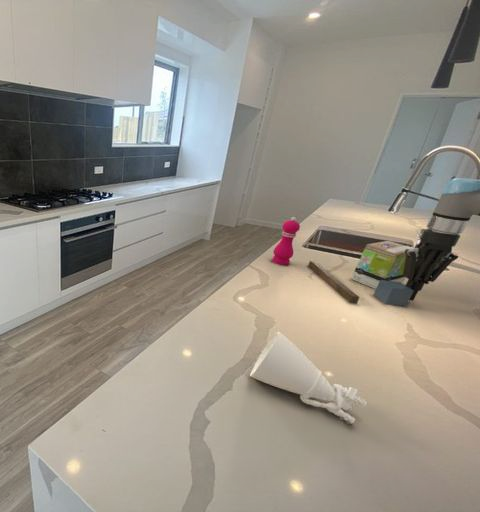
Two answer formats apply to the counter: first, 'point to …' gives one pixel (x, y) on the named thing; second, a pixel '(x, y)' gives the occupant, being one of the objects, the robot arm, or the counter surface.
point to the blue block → (393, 293)
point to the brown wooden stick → (334, 282)
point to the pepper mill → (286, 242)
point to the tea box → (381, 263)
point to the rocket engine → (302, 377)
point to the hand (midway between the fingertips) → (407, 298)
